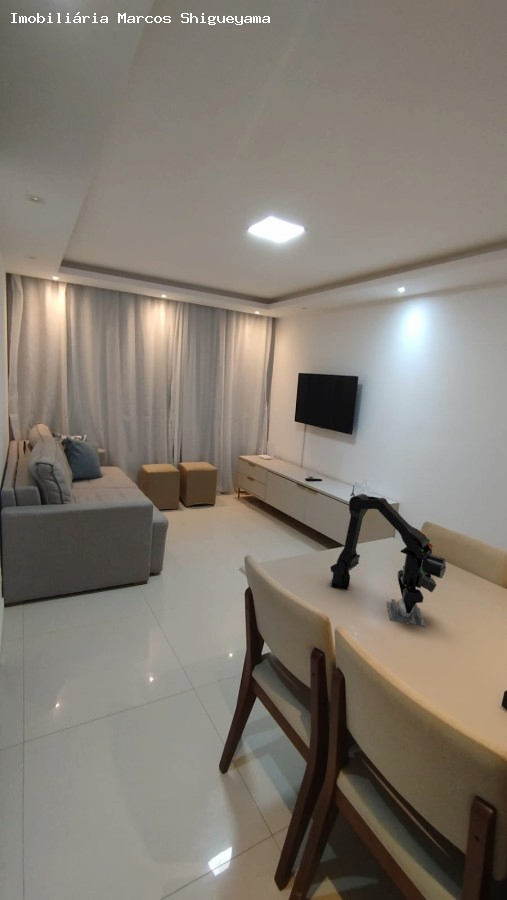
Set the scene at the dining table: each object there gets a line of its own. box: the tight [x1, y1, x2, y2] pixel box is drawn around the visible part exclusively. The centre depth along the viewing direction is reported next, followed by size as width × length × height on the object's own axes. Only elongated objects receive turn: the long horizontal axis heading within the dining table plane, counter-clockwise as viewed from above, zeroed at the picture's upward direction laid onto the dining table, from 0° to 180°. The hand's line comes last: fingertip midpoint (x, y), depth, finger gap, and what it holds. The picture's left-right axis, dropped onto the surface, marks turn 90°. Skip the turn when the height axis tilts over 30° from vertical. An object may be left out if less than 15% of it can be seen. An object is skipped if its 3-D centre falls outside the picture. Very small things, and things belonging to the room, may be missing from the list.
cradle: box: [386, 598, 426, 628], centre depth 150 cm, size 12×12×2 cm
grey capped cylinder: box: [398, 598, 414, 617], centre depth 150 cm, size 5×5×6 cm
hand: (406, 606), depth 150 cm, fingers open, 9 cm apart
